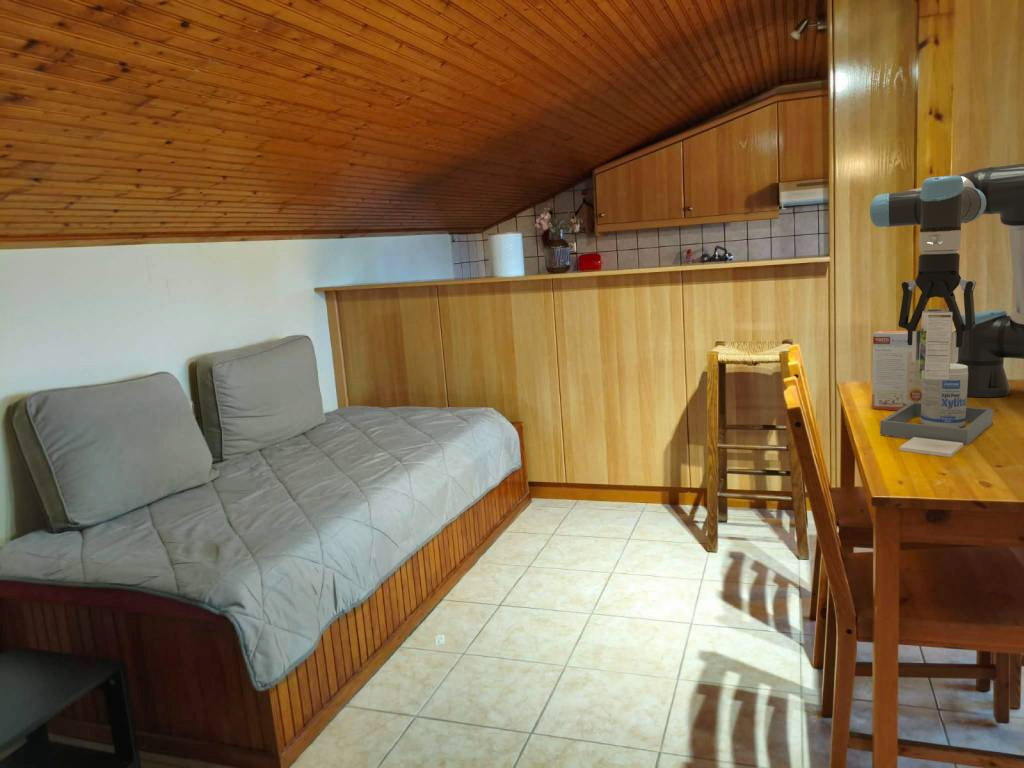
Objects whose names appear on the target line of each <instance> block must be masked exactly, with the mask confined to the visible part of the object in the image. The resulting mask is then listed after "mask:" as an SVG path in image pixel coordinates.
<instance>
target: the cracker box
mask: <svg viewBox="0 0 1024 768" xmlns="http://www.w3.org/2000/svg"><path fill="white" fill-rule="evenodd" d="M920 332H921V330H920ZM872 337H873V338H872V341H873V343H872V372H871V373H872V374H871V375H872V376H871V377H872V378H871V409H872V408H873V410H882V411H883V410H884V411H886V410H887V411H894V412H896V411H898V410H900V409H901V408H903V407H905V406H906V405H908V404H910V403H911V402H917V403H922V381H923V379H919V360H917V361H912V345H908V343H907V340H908V331H907V330H878V331H876V332H873V335H872ZM919 351H920V350H919Z"/></svg>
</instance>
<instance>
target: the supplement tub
mask: <svg viewBox="0 0 1024 768" xmlns="http://www.w3.org/2000/svg"><path fill="white" fill-rule="evenodd" d="M967 386H968V366H966V365H962V364H956V363H954V364H953V363H950V374H949V379H923V381H922V403H921V417H920V422H921V423H920V424H924V425H934V426H943V427H952V428H963V427H965V425H966V422H965V420H966V407H967V400H968V396H967Z"/></svg>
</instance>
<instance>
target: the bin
mask: <svg viewBox="0 0 1024 768" xmlns="http://www.w3.org/2000/svg"><path fill="white" fill-rule="evenodd" d="M993 416H994V408H993V409H992V408H983V407H971V406H966V420H965V421H970V422H969V424H968V425H966V426H964V428H963V427H960V428H952V427H943V426H934V425H924V424H922V423H914V422H913V423H912V422H908V421H910V420H912V419H913V418H921V403H917V402H911V403H910V404H908V405H906V406H905V407H903V408H901V409H900V410H898V411H894V412H893V413H891V414H890V415H888V416H886V417H884V418H883V419H881V420H880V421H879V422H880V427H879V428H880V429H879V435H880V434H881V435H887V436H886V437H889V436H893V437H892V438H898V437H900V439H906V438H907V439H909V440H910V439H912V438H913V437H917V438H926V439H934V440H943V441H951V442H960V443H963V446H965V445H967V446H968V445H970V444H971V443H972V442H973V441H974V440H975V439H976V438H977V437H979V436H980V435H981V434H982V433H983V432H985V431H986V428H987V427H988V426H989V427H990V426H992V425H993V418H994V417H993ZM911 418H912V419H911ZM906 421H907V422H906ZM989 427H988V428H989ZM979 434H980V435H979ZM881 435H880V436H881ZM978 435H979V436H978ZM970 442H971V443H970Z"/></svg>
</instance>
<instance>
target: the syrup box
mask: <svg viewBox="0 0 1024 768" xmlns="http://www.w3.org/2000/svg"><path fill="white" fill-rule="evenodd" d="M920 321H921V322H920V331H921V332H920V351H919V379H949V374H950V360H951V338H952V332H953V320H952V312H949V309H944V308H931V309H930V308H928V309H925V310H923V311H922V316H921V319H920Z"/></svg>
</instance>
